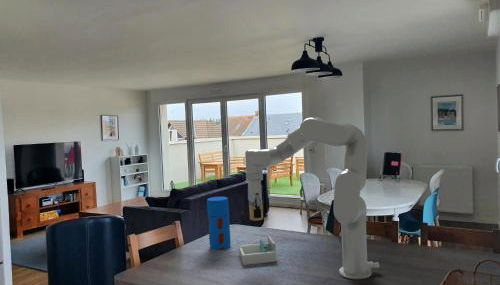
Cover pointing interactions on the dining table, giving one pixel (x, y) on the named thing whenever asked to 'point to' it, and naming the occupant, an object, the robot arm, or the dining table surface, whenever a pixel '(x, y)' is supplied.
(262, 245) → the plate
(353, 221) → the robot arm
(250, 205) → the amber jar
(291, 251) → the dining table surface
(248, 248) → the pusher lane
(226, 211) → the thermos
